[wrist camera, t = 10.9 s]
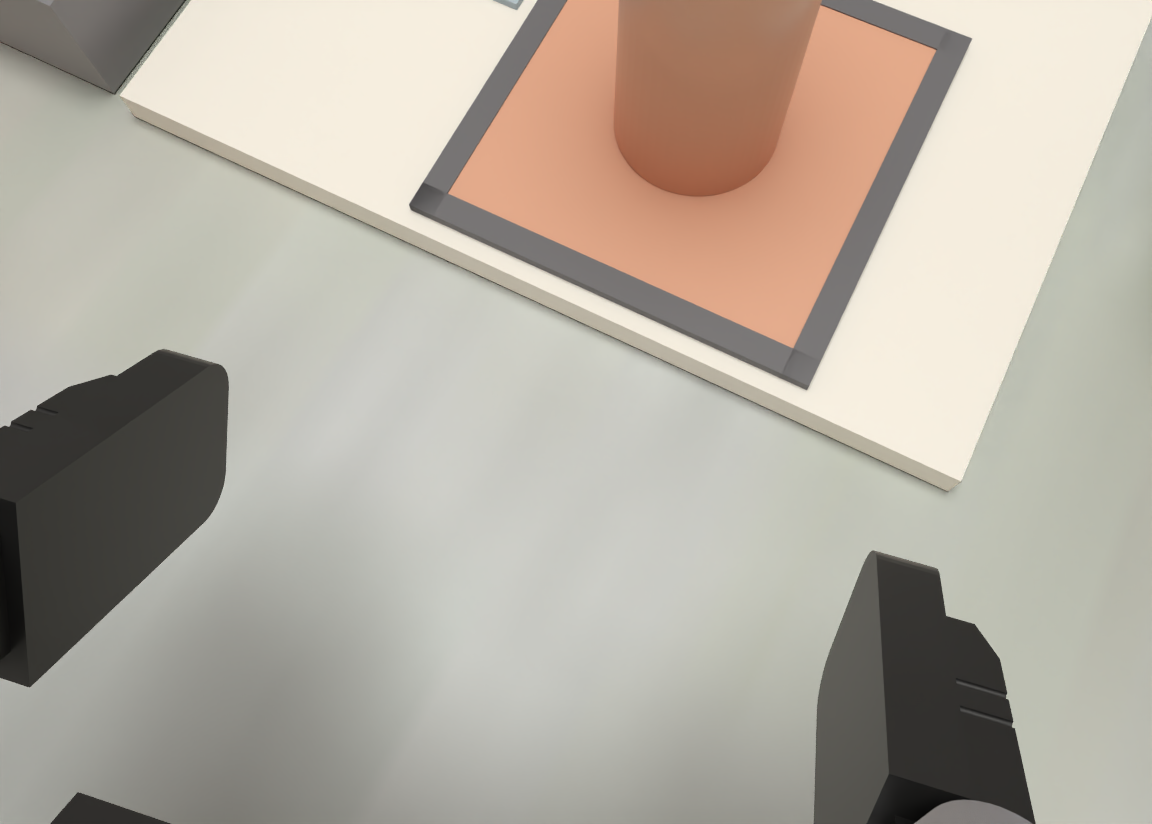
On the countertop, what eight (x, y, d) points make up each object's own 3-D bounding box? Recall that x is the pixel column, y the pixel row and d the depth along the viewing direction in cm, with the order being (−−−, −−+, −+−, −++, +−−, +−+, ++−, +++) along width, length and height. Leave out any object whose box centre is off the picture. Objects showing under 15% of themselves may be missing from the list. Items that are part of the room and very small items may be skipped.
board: (134, 116, 24) (114, 89, 23) (430, -283, 28) (424, -321, 27) (947, 491, 21) (965, 478, 20) (1159, -20, 25) (1182, -52, 24)
